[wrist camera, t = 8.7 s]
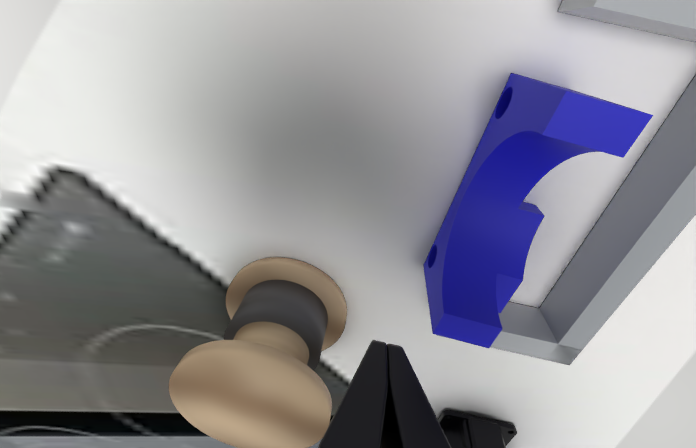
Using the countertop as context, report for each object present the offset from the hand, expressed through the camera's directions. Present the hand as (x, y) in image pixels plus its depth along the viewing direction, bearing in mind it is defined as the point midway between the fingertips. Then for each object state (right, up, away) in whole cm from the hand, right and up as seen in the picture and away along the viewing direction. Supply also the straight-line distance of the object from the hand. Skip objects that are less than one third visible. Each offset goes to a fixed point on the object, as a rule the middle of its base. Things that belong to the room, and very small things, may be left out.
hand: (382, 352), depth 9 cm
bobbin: (-6, -3, +16) cm, 17 cm away
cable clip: (+8, +5, +10) cm, 14 cm away
